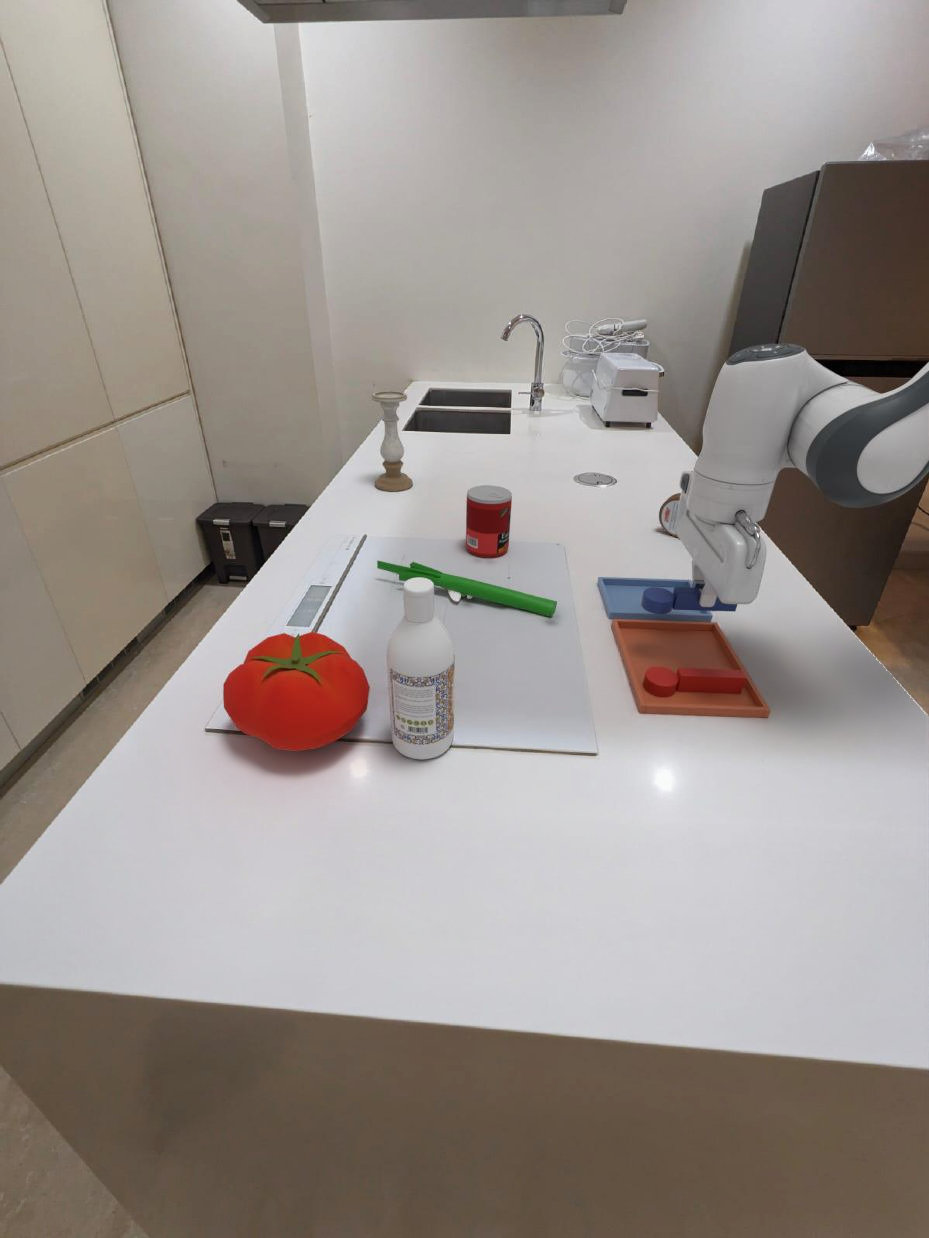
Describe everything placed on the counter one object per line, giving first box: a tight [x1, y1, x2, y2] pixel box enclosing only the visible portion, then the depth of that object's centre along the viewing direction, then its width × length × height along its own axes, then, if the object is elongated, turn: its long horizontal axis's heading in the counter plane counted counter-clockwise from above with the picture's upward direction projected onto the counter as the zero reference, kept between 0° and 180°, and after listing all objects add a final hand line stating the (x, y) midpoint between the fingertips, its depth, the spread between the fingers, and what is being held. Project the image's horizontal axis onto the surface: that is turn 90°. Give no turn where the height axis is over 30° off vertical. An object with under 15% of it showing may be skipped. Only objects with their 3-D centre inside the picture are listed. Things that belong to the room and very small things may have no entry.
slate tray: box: [596, 576, 713, 622], centre depth 91 cm, size 15×11×2 cm
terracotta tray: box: [610, 619, 771, 719], centre depth 77 cm, size 15×19×2 cm
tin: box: [658, 492, 681, 539], centre depth 110 cm, size 15×3×8 cm, turn 51°
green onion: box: [376, 560, 558, 618], centre depth 91 cm, size 5×3×30 cm
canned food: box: [465, 484, 513, 559], centre depth 104 cm, size 8×8×11 cm
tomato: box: [222, 631, 370, 752], centre depth 65 cm, size 14×16×10 cm
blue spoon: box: [641, 587, 738, 614], centre depth 75 cm, size 12×4×3 cm, turn 88°
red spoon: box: [643, 666, 746, 697], centre depth 73 cm, size 12×4×3 cm, turn 88°
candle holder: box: [371, 390, 414, 492], centre depth 130 cm, size 9×9×20 cm
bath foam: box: [386, 577, 456, 760], centre depth 60 cm, size 7×7×20 cm
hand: (701, 598), depth 75 cm, fingers closed on blue spoon
